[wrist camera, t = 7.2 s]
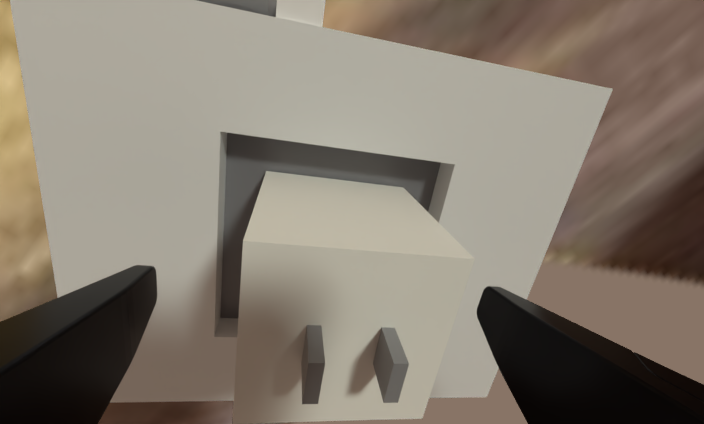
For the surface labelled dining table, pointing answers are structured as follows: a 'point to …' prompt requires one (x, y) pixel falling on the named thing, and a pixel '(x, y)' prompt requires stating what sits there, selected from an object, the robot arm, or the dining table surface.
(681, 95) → the dining table surface
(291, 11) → the grey bar
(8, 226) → the dining table surface
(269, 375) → the charger brick
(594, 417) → the robot arm
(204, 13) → the outlet plate
